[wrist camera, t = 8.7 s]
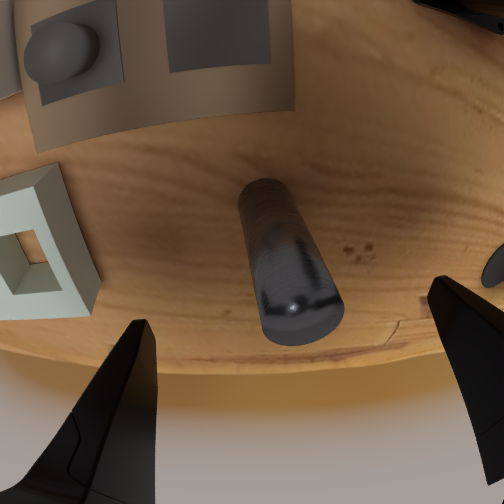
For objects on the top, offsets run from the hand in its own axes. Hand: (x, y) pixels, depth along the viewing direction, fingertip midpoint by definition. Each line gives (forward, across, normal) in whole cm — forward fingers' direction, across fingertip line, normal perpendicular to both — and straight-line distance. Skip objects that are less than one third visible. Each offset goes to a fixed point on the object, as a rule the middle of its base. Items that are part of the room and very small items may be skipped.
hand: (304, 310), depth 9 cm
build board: (+7, +14, 0) cm, 16 cm away
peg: (+7, 0, 0) cm, 7 cm away
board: (+7, +4, -8) cm, 11 cm away
